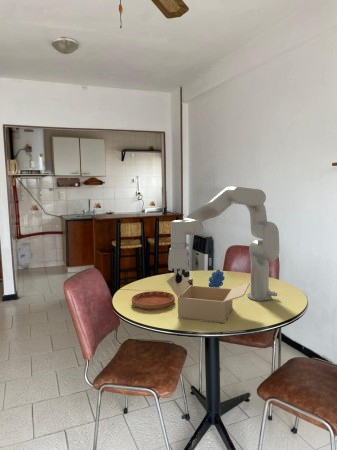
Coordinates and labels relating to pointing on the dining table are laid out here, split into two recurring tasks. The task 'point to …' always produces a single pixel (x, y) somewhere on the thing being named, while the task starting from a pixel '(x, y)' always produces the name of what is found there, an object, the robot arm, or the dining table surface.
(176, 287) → the far flap
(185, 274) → the medicine bottle
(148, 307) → the saucer
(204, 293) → the carton
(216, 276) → the grapes
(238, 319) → the dining table surface
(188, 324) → the dining table surface
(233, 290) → the near flap
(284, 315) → the dining table surface
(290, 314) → the dining table surface
